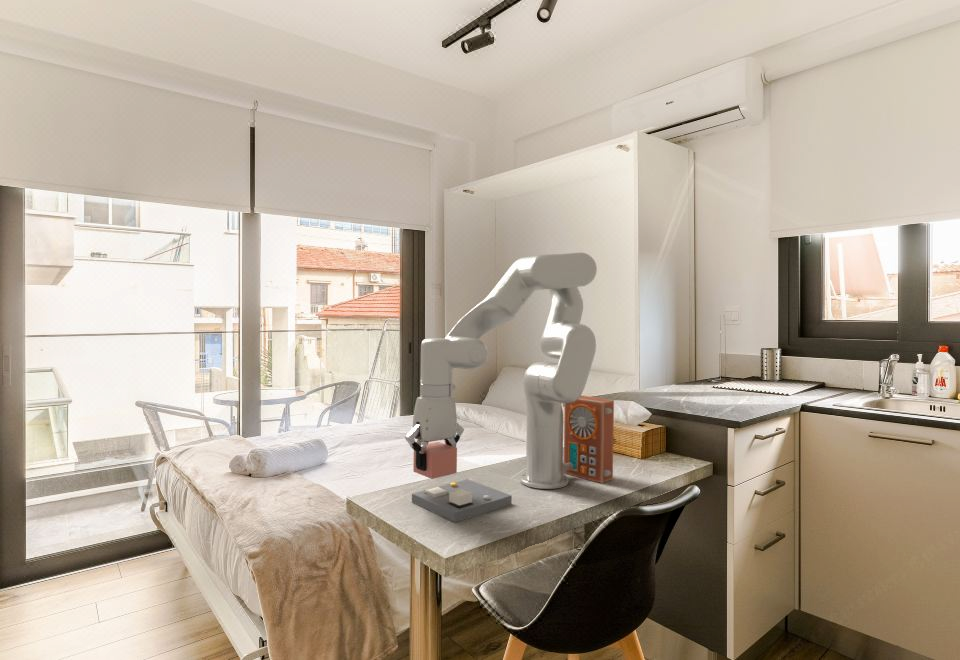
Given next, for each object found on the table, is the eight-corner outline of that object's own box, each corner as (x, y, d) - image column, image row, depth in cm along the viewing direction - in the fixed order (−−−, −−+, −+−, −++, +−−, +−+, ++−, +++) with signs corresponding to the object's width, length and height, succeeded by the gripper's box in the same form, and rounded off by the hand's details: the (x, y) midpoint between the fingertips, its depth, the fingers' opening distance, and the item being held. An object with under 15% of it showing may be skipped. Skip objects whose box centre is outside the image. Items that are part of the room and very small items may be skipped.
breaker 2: (461, 497, 124) (461, 488, 124) (472, 501, 121) (472, 492, 121) (449, 501, 121) (449, 492, 121) (459, 505, 119) (459, 496, 119)
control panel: (604, 485, 141) (558, 472, 152) (619, 479, 146) (573, 467, 157) (605, 403, 140) (559, 396, 151) (620, 400, 145) (574, 393, 156)
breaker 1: (437, 495, 131) (437, 486, 131) (447, 499, 128) (447, 490, 128) (425, 498, 128) (425, 490, 128) (434, 502, 126) (434, 494, 125)
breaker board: (467, 486, 139) (467, 476, 139) (511, 503, 127) (511, 492, 127) (411, 502, 128) (411, 491, 128) (454, 522, 116) (454, 510, 116)
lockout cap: (437, 466, 133) (438, 441, 133) (456, 473, 127) (457, 447, 127) (413, 471, 128) (413, 446, 128) (431, 478, 123) (432, 452, 122)
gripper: (455, 386, 136) (454, 457, 136) (395, 392, 124) (394, 469, 125) (475, 390, 130) (473, 463, 131) (414, 396, 119) (413, 477, 119)
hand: (435, 466), depth 128 cm, fingers closed on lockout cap, 7 cm apart
